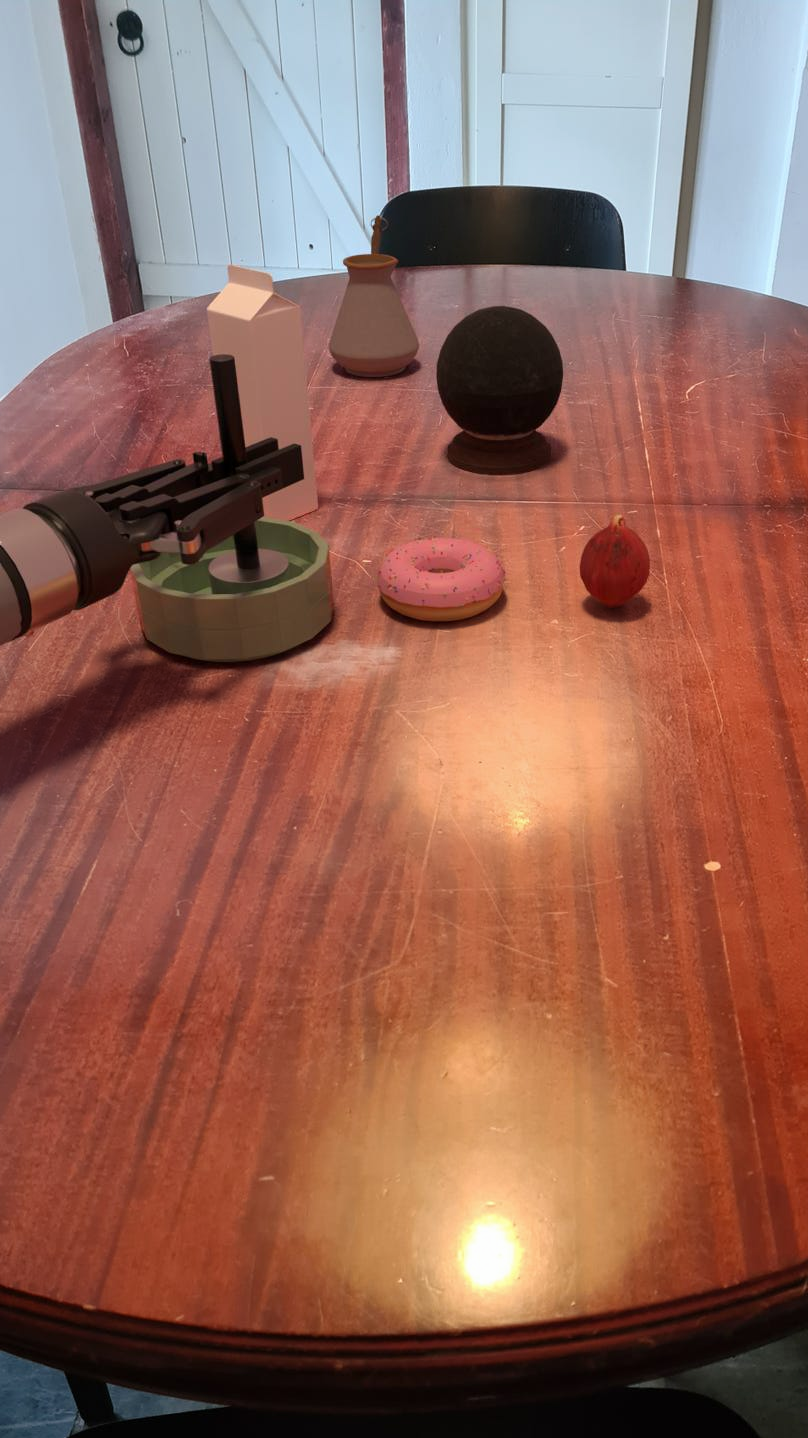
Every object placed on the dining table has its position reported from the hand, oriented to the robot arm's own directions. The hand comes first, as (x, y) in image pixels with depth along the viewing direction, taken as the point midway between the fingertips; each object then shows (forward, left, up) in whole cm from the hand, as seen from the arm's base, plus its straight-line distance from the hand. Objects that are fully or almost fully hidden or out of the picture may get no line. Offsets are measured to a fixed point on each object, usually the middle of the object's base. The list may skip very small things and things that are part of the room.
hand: (287, 458), depth 98 cm
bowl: (-3, -5, -12) cm, 14 cm away
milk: (-12, +17, -13) cm, 24 cm away
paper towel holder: (-1, -5, -10) cm, 11 cm away
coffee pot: (-25, +67, -13) cm, 72 cm away
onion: (+25, +9, -13) cm, 29 cm away
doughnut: (+11, +5, -13) cm, 17 cm away
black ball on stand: (+3, +39, -13) cm, 41 cm away
